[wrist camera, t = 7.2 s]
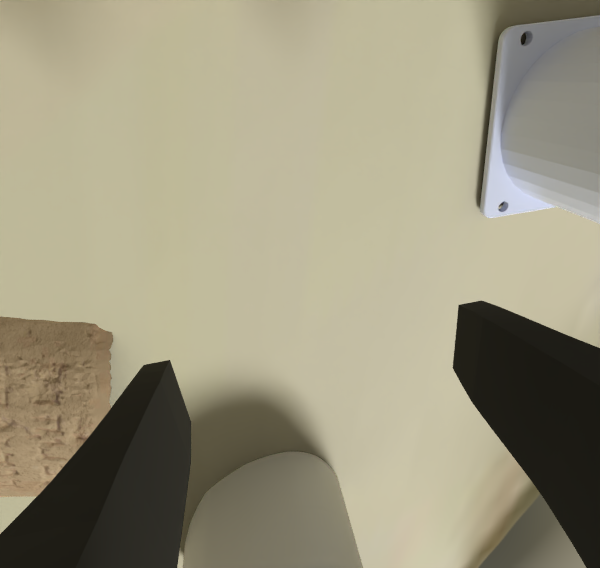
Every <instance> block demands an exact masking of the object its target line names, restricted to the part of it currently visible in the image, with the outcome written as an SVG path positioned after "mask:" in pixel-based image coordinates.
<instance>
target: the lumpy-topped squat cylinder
mask: <svg viewBox="0 0 600 568" xmlns="http://www.w3.org/2000/svg"><path fill="white" fill-rule="evenodd" d="M183 568H363V566H362V562H361V559H360V555H359V552H358V548H357V545H356V541H355V538H354V534H353V530H352V527H351V523H350V520H349V516H348V513H347V509H346V506H345V502H344V499H343V495H342V491H341V488H340V484H339V481H338V478H337V476H336V474H335V472H334V471H333V470H332V468H331V467H330V466H329V465H328V464H327V463H326V462H325V461H323V460H322V459H321V458H319V457H317V456H315V455H313V454H310V453H305V452H296V451H291V452H282V453H277V454H273V455H269V456H266V457H263V458H260V459H257V460H254V461H252V462H250V463H247V464H245V465H243V466H242V467H240V468H238V469H237V470H235V471H233V472H232V473H230V474H229V475H227V476H226V477H225V478H223V479H222V480H220V481H219V482H218V483H216V484H215V485H214V486H213V487H211V488H210V489H209V490H208V491H207V492H206V493H205V495H204V496H203V498H202V499H201V501H200V503H199V505H198V507H197V509H196V511H195V513H194V515H193V518H192V520H191V523H190V525H189V529H188V533H187V537H186V541H185V549H184V561H183Z"/></svg>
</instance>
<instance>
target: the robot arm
mask: <svg viewBox="0 0 600 568" xmlns="http://www.w3.org/2000/svg"><path fill="white" fill-rule="evenodd" d="M523 33H525V34H526V41H525V43H524V44H523V45H522V44H521V40H520V39H521V36H522V34H523ZM502 202H503V203H504V204H503V206H502V207H501V209H498V207H499V205H500V204H501V203H502ZM553 207H558V208H561V209H563V210H566V211H569V212H571V213H574V214H576V215H579V216H581V217H584V218H586V219H589V220H591V221H594V222H596V223H599V224H600V15H597V16H589V17H580V18H572V19H564V20H556V21H548V22H540V23H531V24H523V25H515V26H510V27H508V28H506V29H505V30H504V31H503V32H502V33H501V35H500V37H499V41H498V48H497V58H496V67H495V76H494V85H493V94H492V103H491V112H490V122H489V131H488V140H487V149H486V158H485V167H484V176H483V186H482V195H481V204H480V212H481V213H482V215H484V216H486V217H488V218H495V217H500V216H506V215H512V214H518V213H524V212H530V211H536V210H542V209H547V208H553ZM453 369H454V371H455V373H456V375H457V377H458V378H459V380H460V382H461V384H462V386H463V387H464V389H465V391H466V393H467V394H468V396H469V398H470V399H471V401H472V403H473V404H474V405H475V407H476V408H477V409H478V411H479V412H480V414H481V415H482V416H483V418H484V419H485V420H486V422H487V423H488V424H489V426H490V427H491V428H492V430H493V431H494V432H495V433H496V435H497V436H498V437H499V439H500V440H501V441H502V443H503V444H504V445H505V447H506V448H507V449H508V451H509V452H510V453H511V454H512V456H513V457H514V458H515V460H516V461H517V462H518V464H519V465H520V466H521V468H522V469H523V470H524V471H525V473H526V474H527V475H528V477H529V478H530V479H531V481H532V482H533V484H534V485H535V486H536V488H537V489H538V491H539V492H540V493H541V495H542V496H543V498H544V499H545V501H546V502H547V504H548V505H549V507H550V509H551V510H552V512H553V513H554V515H555V517H556V518H557V520H558V521H559V523H560V525H561V526H562V528H563V529H564V531H565V532H566V534H567V536H568V537H569V539H570V540H571V542H572V544H573V545H574V547H575V549H576V551H577V552H578V554H579V556H580V557H581V559H582V561H583V562H584V564H585V566H586V567H587V568H600V348H598V347H595V346H593V345H590V344H588V343H585V342H583V341H580V340H577V339H575V338H573V337H570V336H568V335H565V334H563V333H560V332H558V331H556V330H553V329H551V328H548V327H546V326H544V325H541V324H539V323H537V322H534V321H532V320H529V319H527V318H525V317H522V316H520V315H518V314H515V313H513V312H510V311H508V310H506V309H503V308H501V307H498V306H495V305H493V304H490V303H487V302H484V301H477V302H472V303H467V304H462V305H459V308H458V319H457V330H456V340H455V351H454V361H453ZM190 464H191V421H190V418H189V415H188V412H187V409H186V406H185V403H184V400H183V397H182V394H181V391H180V388H179V385H178V382H177V379H176V376H175V374H174V371H173V368H172V365H171V362H170V360H168V361H163V362H158V363H153V364H147V365H144V366H143V367H142V368H141V369H140V371H139V372H138V373H137V375H136V376H135V377H134V378H133V380H132V381H131V382H130V384H129V385H128V386H127V388H126V389H125V390H124V392H123V393H122V394H121V396H120V397H119V398H118V400H117V401H116V402H115V404H114V405H113V406H112V408H111V409H110V410H109V412H108V413H107V414H106V416H105V417H104V418H103V419H102V421H101V422H100V423H99V424H98V426H97V427H96V428H95V430H94V431H93V432H92V433H91V435H90V436H89V437H88V439H87V440H86V441H85V442H84V443H83V444H82V446H81V447H80V448H79V449H78V450H77V451H76V453H75V454H74V455H73V456H72V457H71V459H70V460H69V461H68V462H67V463H66V464H65V466H64V467H63V468H62V469H61V470H60V472H59V473H58V474H57V475H56V476H55V477H54V479H53V480H52V481H51V482H50V483H49V484H48V485H47V486H46V487H45V488H44V490H43V491H42V492H41V493H40V494H39V495H38V496H37V497H36V498H35V499H34V500H33V501H32V502H31V503H30V505H29V506H28V507H27V508H26V509H25V510H24V511H23V512H22V513H21V514H20V515H19V516H18V517H17V518H16V519H15V520H14V521H13V522H12V523H11V524H10V525H9V526H8V527H7V528H6V529H5V530H4V531H3V532H2V533H1V534H0V568H177V564H178V556H179V549H180V541H181V534H182V526H183V519H184V511H185V504H186V496H187V488H188V481H189V473H190Z"/></svg>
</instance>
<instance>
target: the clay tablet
mask: <svg viewBox="0 0 600 568" xmlns="http://www.w3.org/2000/svg"><path fill="white" fill-rule="evenodd" d="M112 342H113V335H112V332H108V331H105V330H103V329H101V328H99V327H98V326H97V325H96V324H89V323H83V322H55V321H46V320H26V319H20V318H10V317H0V497H10V496H38V495H39V494H40V493H41V492H42V491H43V490H44V488H45V487H46V486H47V485H48V484H49V483H50V482H51V481H52V480H53V479H54V477H55V476H56V475H57V474H58V473H59V472H60V470H61V469H62V468H63V467H64V466H65V464H66V463H67V462H68V461H69V460H70V459H71V457H72V456H73V455H74V454H75V453H76V451H77V450H78V449H79V448H80V447H81V446H82V444H83V443H84V442H85V441H86V440H87V439H88V437H89V436H90V435H91V433H92V432H93V431H94V430H95V428H96V427H97V426H98V424H99V423H100V422H101V421H102V419H103V418H104V417H105V416H106V414H107V413H108V412H109V410H110V409H111V406H110V404H109V397H110V392H111V386H110V380H111V379H112V378H111V374H110V369H111V365H110V363H109V360H110V359H111V354H110V351H109V349H110V348H111V345H112Z"/></svg>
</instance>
